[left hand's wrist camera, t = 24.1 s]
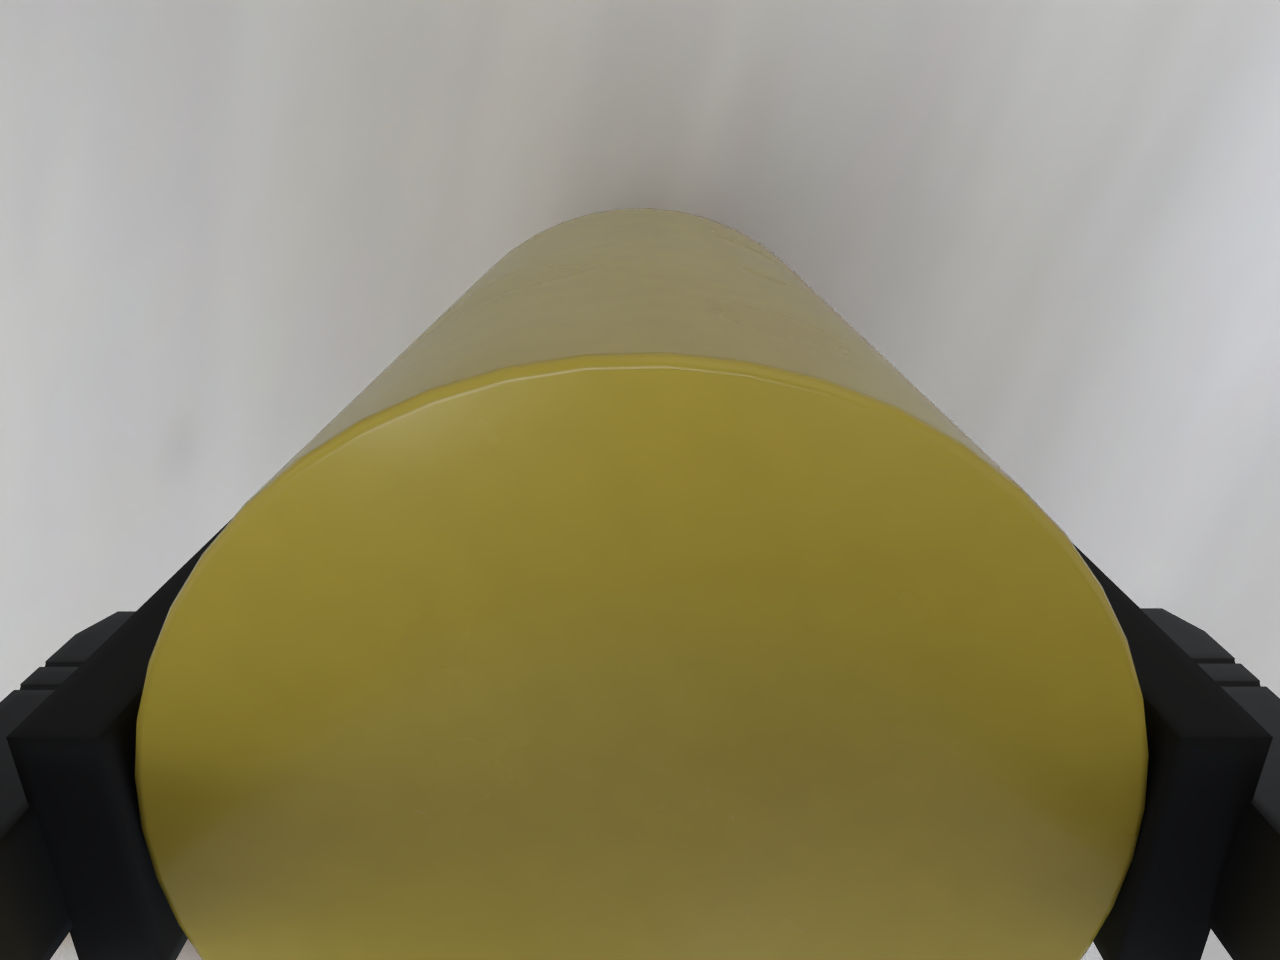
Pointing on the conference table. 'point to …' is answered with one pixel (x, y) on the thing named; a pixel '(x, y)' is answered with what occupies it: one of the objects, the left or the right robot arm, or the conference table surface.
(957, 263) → the conference table surface
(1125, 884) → the left robot arm
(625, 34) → the conference table surface
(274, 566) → the cylinder
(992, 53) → the conference table surface
